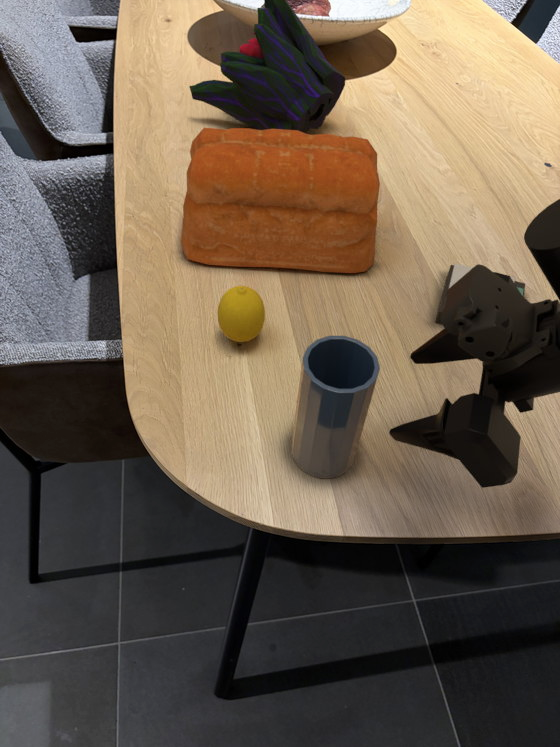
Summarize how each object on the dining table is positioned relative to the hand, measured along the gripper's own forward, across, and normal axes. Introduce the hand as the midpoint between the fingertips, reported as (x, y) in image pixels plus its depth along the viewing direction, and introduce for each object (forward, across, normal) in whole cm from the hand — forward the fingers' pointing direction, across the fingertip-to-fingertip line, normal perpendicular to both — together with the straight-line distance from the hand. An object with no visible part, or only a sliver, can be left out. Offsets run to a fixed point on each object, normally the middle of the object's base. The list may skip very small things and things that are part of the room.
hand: (402, 395), depth 53 cm
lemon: (+23, -12, -5) cm, 26 cm away
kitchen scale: (+4, -29, +14) cm, 32 cm away
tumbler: (+13, 0, +4) cm, 14 cm away
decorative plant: (+35, -65, -17) cm, 76 cm away
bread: (+24, -32, -7) cm, 41 cm away
